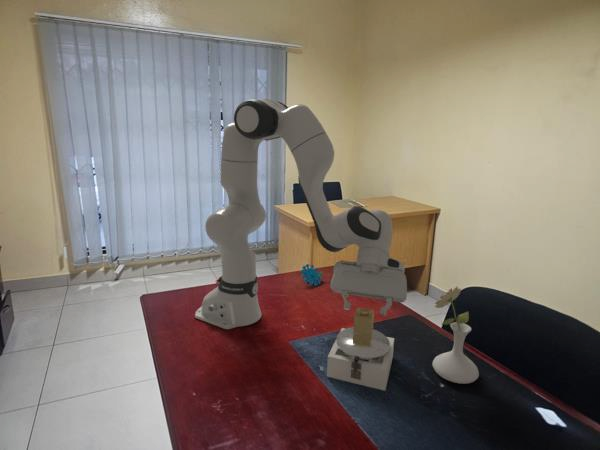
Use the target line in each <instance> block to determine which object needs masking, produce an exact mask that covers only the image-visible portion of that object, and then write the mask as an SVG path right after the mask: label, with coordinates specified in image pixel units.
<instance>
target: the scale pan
mask: <svg viewBox="0 0 600 450" xmlns="http://www.w3.org/2000/svg"><path fill="white" fill-rule="evenodd" d="M353 330H354V326H353V327H348V328H345V329H344V330H342V331H341V330H340V331H341V332H338V334H337V335H336V339H335V341H336V343H337V346H338V348H339V349H340V350H341V351H342V352H343V353H345V354H346V355H348V356H351V357H354V370H353V373H354V374H358V371H357V365H358V361H359V360H363V361H367V362H368V361H369V360H371V359H377V358H381V357H383V356H384V355H386V354H387V353H388V351H389V348H390V342H389V340H388V338H387V337H388V336H386V334H384V333H382V332H380V331H379V330H377V329H374V328H373V336H372V341H371V345H370V346H365V345H359V344H354V343H353Z"/></svg>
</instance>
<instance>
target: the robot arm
mask: <svg viewBox="0 0 600 450" xmlns="http://www.w3.org/2000/svg"><path fill="white" fill-rule="evenodd" d="M280 138H282V140H284V142H285V143H286V145H287V148H288V149H289V151H290V153H291V155H292V156H293V158H294V161H295V164H296V168H297V172H298V184H299V187H300V190H301V193H302V195H303V198H304V202H305V204H306V207H307V208H308V211H309V213H310V216H311V218H312V222H313V225H314V227H315V232H316V238H317V240H318V242H319V244H320V245H321V246H322V247H323V248H324V249H325V250H326V251H328V252H330V253H338V252H340V251H342V250H344V249H345V248H347V247H350V246H353V245H356V246H357V247H358V250H357V255H356V261H346V260H339V261H337V262H335V263H334V265H333V268H332V271H333V275H332V277H331V281H330V288H331V290H332V292H333V293H338V294H341V297H342V299H343V302H344V303H343V310H346V311H351V304H352V303H351V301H348V299H347V298H348V297H349V295H350V296H356V297H364V298H370V299H375V300H376V299H377V300H384V301H385V303H386V304H385V306H380V311H379V316H381V317H382V316H383V317H386V316H387V310H389V309H390V308H391V306H392V305H393V302H396V303H405V302H406V300H407V296H408V283H407V276H406V273H405V269H406V268H405V264H404V263H403V262H402V261H400V260H398V259H395V258H393V257H391V255H390V248H391V246H392V240H393V221H392V217H391V216H390V214H389V213H388V212H386V211H383V210H381V209H371V210H368V209H366V208H364V207H363V206H359V205H355V206H352V207H350V208H347V209H346V210H342V212H340V213H338V214H335V215H334V214H333V213H332V211H331V208H330V205H329V203H328V201H327V197H326V195H325V193H324V185H323V184H324V181H325V178H326V176H327V174H328V172H329V170H330V169H331V168H332V165H333V163H334V158H335V149H334V146H333V143H332V141H331V139H330V138H329V135H328V133H327V132H326V131H325V129H324V127H323V125H322V123H321V122H320V120H319V119H318V117H317V116H316V115H315V113H313V111H312V110H311V109H310V108H309V107H308V105H305V104H294V105H292V106H289V107H288V105H286V104H284V103H283V102H281V101H277V100H271V99H266V98H265V99H256V98H251V99H247V100H245V101H244V100H243V102H241V103H240V104H238V105H237V107H236V108H235V111H234V114H233V122H232V123H229V124H227V126H226V127H225V129H224V133H223V136H222V141H221V142H222V143H221V151H220V153H221V154H220V186H221V187H222V188H223V189H224V190H225V191H226V194H227V197H228V205H227V206H224V207H222V208H219V209H217V210H215V211H214V212H213V213H212V214H210V215H209V216H208V218H207V219H206V221H205V225H204V226H205V232H206V235H207V236H208V239H210V241H212V243H214V244H215V245H216V246H217V248H218V251H219V254H220V259H221V261H220V262H221V276H219V277H218V279H216V280H215V285H217V284H218V286H216V287H215V288H213V290H211V291H210V292H208V293H207V294H206V295H205V296H204V297H203V300H202V303H201V306H200V307H199V308H198V309H197V310H196V311H195V314H194V318H196V319H198V320H200V321H203V322H206V323H208V324H210V325H213V326H216V327H219V328H222V329H224V330H232V329H234V328H238V327H245V326H250V325H252V324H254V323H257V322H258V321H259V320H260V319H261V318H262V311H261V309H260V303H259V298H258V291H259V287H258V286H259V285H258V284H259V283H258V276H257V260H256V259H257V258H256V253H255V252H254V251H253V250H252V249H251V248H250V244H249V240H248V239H249V235H251V234H252V233H254V232H256V231H258V229H260V227H261V226H262V225H263V224H264V222H265V221H266V219H267V212H266V209H265V207H264V206H263V204H261V201H260V196H259V190H258V165H259V164H258V161H259V159H258V158H259V146H260V145H261V143H262V142H263V141H265V142H266V141H271V140H275V139H280Z"/></svg>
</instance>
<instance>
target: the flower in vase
mask: <svg viewBox="0 0 600 450" xmlns="http://www.w3.org/2000/svg"><path fill="white" fill-rule="evenodd" d="M458 287H459V286H456V287H454V288H449V289H448V291H447V292H446V293H445V294H442V295H440V296H439V299H438V300H437V301H436V302H435V303H434V304H435V305H434V307H435V308H437V309H440V308H443V307H445V306H448V305H449V304H451V307H452V309H453V314H454V318H453V317H450V318H447V319H445V320H444V321H443V322H442V323H441V326H443V325H446V326H447V325H449V326H450V328H451V330H452V331H453V347H452V350H450V351H447V352H443V353H440V354H438V355H437V356H435V357H434V359H433V360H432V368H433V369H434V371H435V372H436V374H437V375H438V376H440V377H441V378H443V379H445V380H447V381H449V382H451V383H454V384H456V383H457V384H464V385H465V384H471V383H473V382H475V381H476V380H478V378H480V377H479V376H480V372H479V369H478V367H477V366H476V364H475V363H474V362H473V361H472V359H470V358H469V357H468V356H467V355H465V354H464V342H465V339H466V336H468V334H469V333H471V331H473V330H472V327H471V326H470V325H468V324H466V323H468V322H469V319H470V313H469V311H465V312H464V313H461V314H458V315H457V314H456V310H455V309H456V308H455V305H454V303H453V301H455V300H456V299H457V298H458V297H459V295H460V294H461V291H462V288H461V287H460V288H458Z"/></svg>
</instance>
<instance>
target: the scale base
mask: <svg viewBox="0 0 600 450" xmlns="http://www.w3.org/2000/svg"><path fill="white" fill-rule="evenodd" d="M344 329H346V328H344V327H341V329H340V332H341V331H342V330H344ZM340 332H339V333H340ZM386 337H387V338H388V340H389V342H390V348H389V351H388V353H387V354H386V355H384V356H383V357H381V358H377V359H371V360H369V361H368V362H367V361H363V360H359V361H358V365H357V371H358V374H354V373H353V370H354V357H351V356H348V355H346V354H345V353H343V352H342V351H341V350H340V349H339V348H338V346H337V343H336V340H335V341H334V343H333V344H332V347H331V349H330V351H329V353H328V355H327V364H326V365H327V367H326V377H327V378H332V379H335V380H339V381H344V382H348V383H351V384H356V385H361V386H364V387H368V388H372V389H376V390H381V391H384V392H386V390H387V385H388V381H389V376H390V371H391V367H392V364H393V363H392V362H393V358H394V345H395V338H394V337H391V336H390V337H389V336H386Z"/></svg>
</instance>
